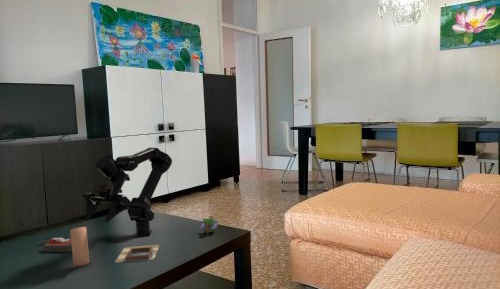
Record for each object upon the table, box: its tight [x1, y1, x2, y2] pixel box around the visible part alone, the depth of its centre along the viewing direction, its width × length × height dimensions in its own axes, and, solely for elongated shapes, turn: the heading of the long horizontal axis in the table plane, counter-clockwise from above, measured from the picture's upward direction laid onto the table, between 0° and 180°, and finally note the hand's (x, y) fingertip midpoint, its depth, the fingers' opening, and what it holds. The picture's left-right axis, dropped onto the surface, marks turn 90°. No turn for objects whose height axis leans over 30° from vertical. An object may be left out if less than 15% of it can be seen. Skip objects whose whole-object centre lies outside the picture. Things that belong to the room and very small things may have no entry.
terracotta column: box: [69, 226, 90, 269], centre depth 126 cm, size 5×5×13 cm
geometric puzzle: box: [199, 215, 219, 235], centre depth 155 cm, size 7×7×8 cm
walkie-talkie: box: [39, 237, 72, 253], centre depth 147 cm, size 9×4×20 cm
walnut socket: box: [125, 247, 153, 261], centre depth 131 cm, size 8×8×2 cm
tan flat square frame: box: [114, 244, 161, 263], centre depth 133 cm, size 15×13×1 cm
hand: (95, 221), depth 133 cm, fingers open, 9 cm apart
